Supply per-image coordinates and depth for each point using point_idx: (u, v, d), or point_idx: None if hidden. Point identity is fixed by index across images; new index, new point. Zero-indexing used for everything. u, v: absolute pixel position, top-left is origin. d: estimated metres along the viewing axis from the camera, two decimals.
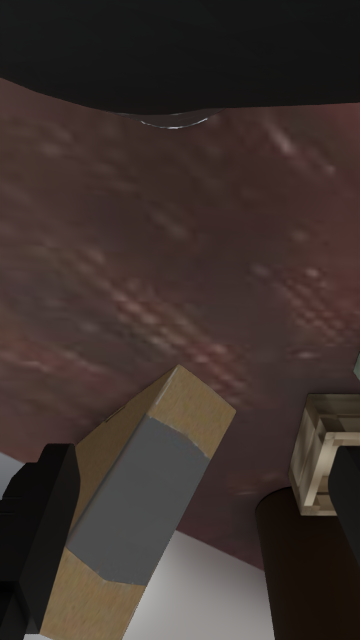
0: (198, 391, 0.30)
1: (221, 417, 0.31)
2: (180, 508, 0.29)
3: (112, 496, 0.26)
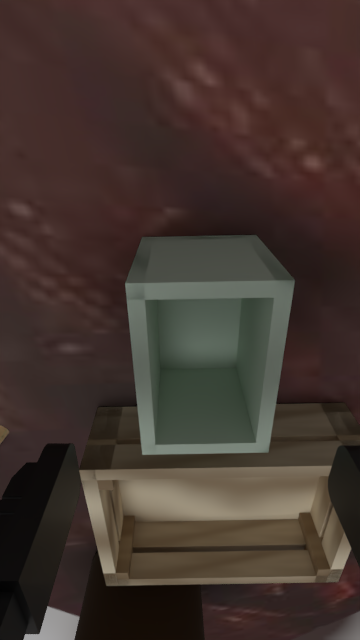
0: None
1: None
2: None
3: None
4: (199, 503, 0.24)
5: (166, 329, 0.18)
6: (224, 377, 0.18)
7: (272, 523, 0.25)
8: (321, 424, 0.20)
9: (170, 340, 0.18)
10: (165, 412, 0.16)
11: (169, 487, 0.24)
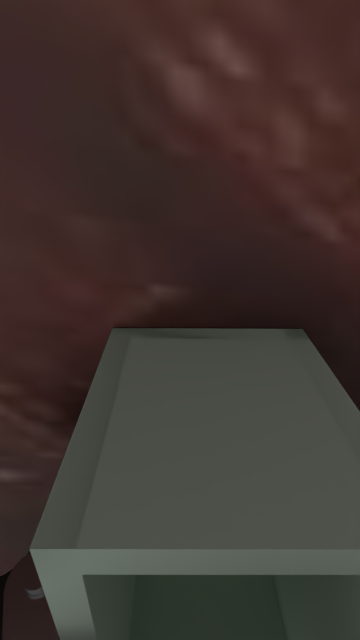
0: None
1: None
2: None
3: None
4: None
5: None
6: None
7: None
8: None
9: None
10: (143, 629, 0.09)
11: None
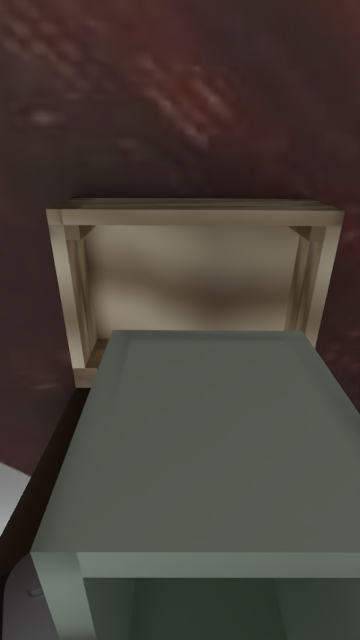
0: None
1: None
2: None
3: None
4: (172, 323, 0.25)
5: None
6: None
7: None
8: (288, 202, 0.20)
9: None
10: (143, 631, 0.09)
11: (142, 301, 0.24)
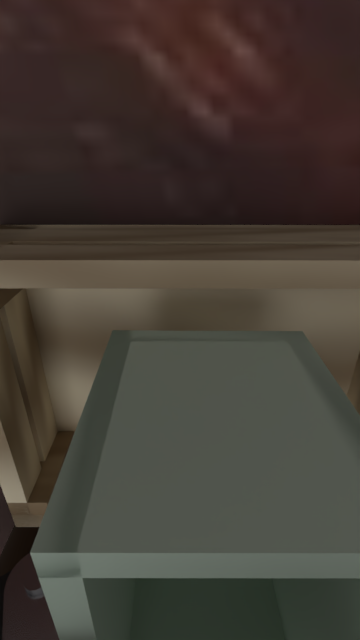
0: None
1: None
2: None
3: None
4: None
5: None
6: None
7: None
8: None
9: None
10: (143, 631, 0.09)
11: None
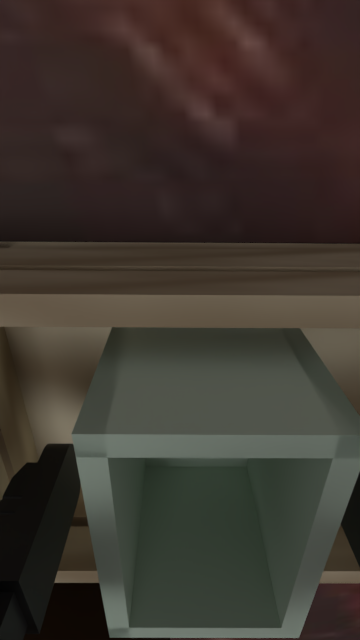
0: None
1: None
2: None
3: None
4: None
5: None
6: (231, 483, 0.14)
7: None
8: None
9: None
10: (148, 554, 0.11)
11: None
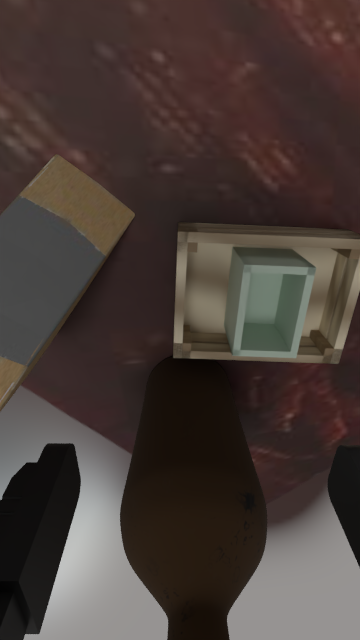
0: (82, 183, 0.28)
1: (115, 215, 0.29)
2: (66, 295, 0.26)
3: None
4: None
5: None
6: (268, 327, 0.33)
7: None
8: (332, 232, 0.29)
9: None
10: None
11: (219, 297, 0.33)
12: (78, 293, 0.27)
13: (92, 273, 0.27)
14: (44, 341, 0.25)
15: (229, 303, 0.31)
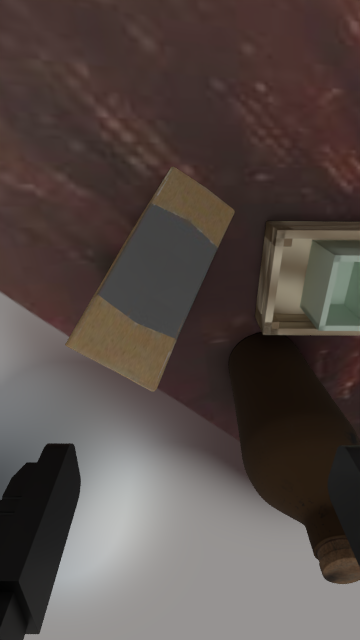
0: (194, 189, 0.34)
1: (220, 213, 0.35)
2: (195, 281, 0.32)
3: (131, 261, 0.30)
4: None
5: None
6: (340, 307, 0.39)
7: None
8: None
9: None
10: None
11: (298, 283, 0.39)
12: (202, 279, 0.33)
13: (210, 262, 0.33)
14: (185, 319, 0.31)
15: (309, 287, 0.37)
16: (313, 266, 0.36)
